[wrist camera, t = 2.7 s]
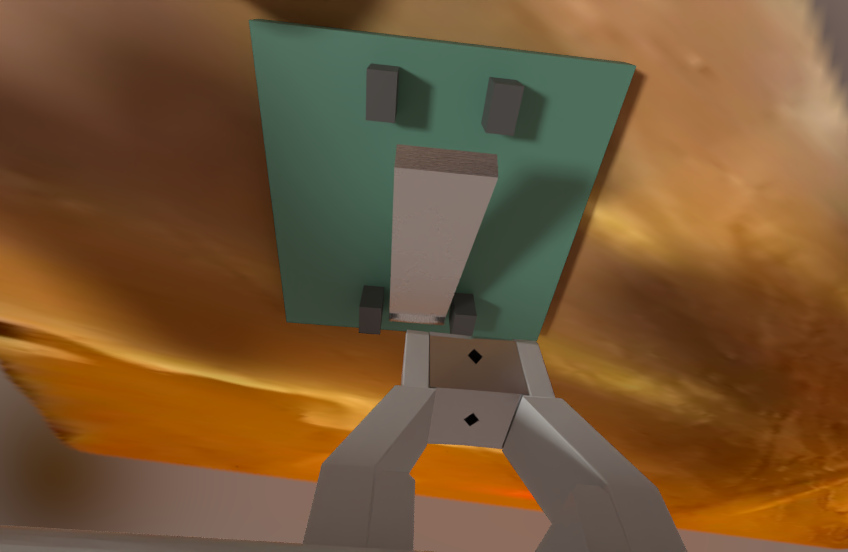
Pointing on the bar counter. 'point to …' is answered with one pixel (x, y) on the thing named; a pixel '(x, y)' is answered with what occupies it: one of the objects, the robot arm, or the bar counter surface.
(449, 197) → the steel strap
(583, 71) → the board
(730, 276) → the bar counter surface
